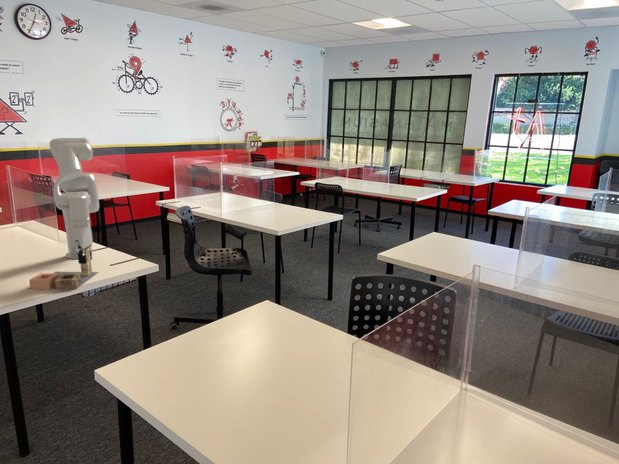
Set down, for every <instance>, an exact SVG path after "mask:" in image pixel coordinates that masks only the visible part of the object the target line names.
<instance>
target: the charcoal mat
mask: <svg viewBox="0 0 619 464" xmlns="http://www.w3.org/2000/svg"><path fill="white" fill-rule="evenodd" d="M53 273H59V275H60V274H74V273H80V276H81V283H80V284H79V286H78V288H76V289H69V290H74V291H76V290H78V289H79V288H80V287H81V286H83V285H84V284H86V283H87V282H88V281H89V280H91V279H92V278H93V277H95V276H96V275H97V274H98V273H100V272H99V271H98V272H97V271H92V274H90V275H89V276H82V273H81V271H55V272H53ZM28 289H29V290H32V289H31V288H30V287H29V288H28ZM50 290H56V286H54V287H52V288H51V289H50Z"/></svg>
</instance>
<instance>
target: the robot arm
mask: <svg viewBox="0 0 619 464" xmlns="http://www.w3.org/2000/svg"><path fill="white" fill-rule="evenodd" d="M49 150H50V152H51V155H52V156H53V159H54V160H55V162H56V164H57V167H58V173H59V176H58V177H57V178H56V179H55V182H54V184H53V196H54V203H55V206H56V208H57V209H58V210H60V211H62V215H63V221H64V227H65V235H66V241H67V242H66V243H67V250H68V252H67V253H65V258H67V259H69V260H73V259H74V260H76V259H77V260H78V264H86V255H84V248H86V247H88V246H89V250H90V259H91V261H92V260H93V251H92V245H93V241H94V240H93V232H92V227H91V217H90V214H91V213H96V212H98V211H99V210H100V201H99V193H98V185H97V180H96V177H95V175H94V174H93V173H90V172H83V169H82V164H81V162H82V161H92V160H93V158H94V151H93V148H92V145H91V143H90V140H88V138H86V137H57V138H53V139H51V140H50V141H49ZM61 189H62V191H63V192H62V191H61ZM79 247H81V248H79ZM80 250H82V252H81V251H80Z"/></svg>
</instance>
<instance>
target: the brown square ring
mask: <svg viewBox="0 0 619 464" xmlns="http://www.w3.org/2000/svg"><path fill="white" fill-rule="evenodd" d="M80 283H81V276H80V273H74V274H60V275H59V276H58V278H57V279H56V280H55V286H56V289H55V291H59V290H60V291H62V290H70V289H76V288H77V289H79V288H78V286H79V284H80ZM77 289H76V290H77Z"/></svg>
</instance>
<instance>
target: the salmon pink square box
mask: <svg viewBox="0 0 619 464" xmlns="http://www.w3.org/2000/svg"><path fill="white" fill-rule="evenodd" d="M58 276H59V273H54V272H52V273H49V272H48V273H47V272H40V273H38V274H37V275H34V276H32V277H31V278H30V279H28V280H29V281H28V282H29V288H31V289H30V290H52V289H51V288H52V287H54V286H55V280H56V279H57V278H58Z"/></svg>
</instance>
